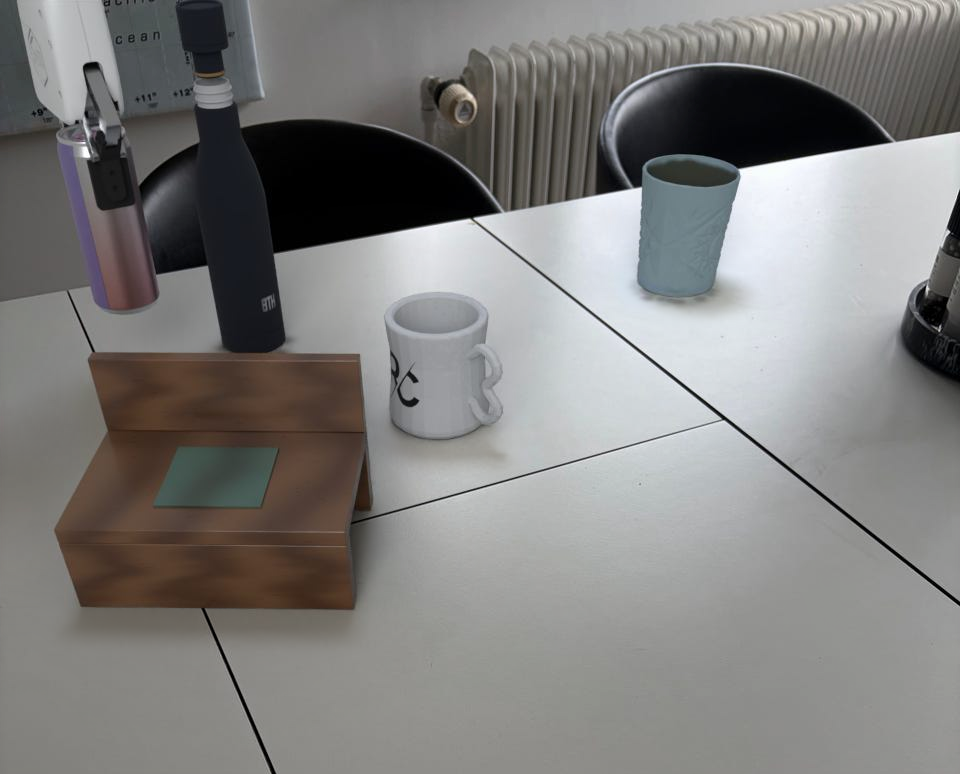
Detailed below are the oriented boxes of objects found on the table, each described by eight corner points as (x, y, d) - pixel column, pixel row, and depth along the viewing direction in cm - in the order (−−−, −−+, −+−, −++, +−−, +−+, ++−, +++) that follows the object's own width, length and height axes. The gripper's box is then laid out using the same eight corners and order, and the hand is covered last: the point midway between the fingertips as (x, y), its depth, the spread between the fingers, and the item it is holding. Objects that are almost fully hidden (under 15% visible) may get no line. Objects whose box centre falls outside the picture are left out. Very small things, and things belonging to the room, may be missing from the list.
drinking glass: (621, 266, 120) (631, 156, 112) (705, 259, 121) (720, 150, 113) (647, 303, 112) (660, 189, 104) (736, 296, 114) (755, 182, 105)
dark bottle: (229, 325, 109) (170, -5, 89) (290, 326, 109) (244, -5, 88) (216, 354, 104) (150, 12, 84) (279, 355, 104) (228, 12, 84)
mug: (369, 417, 95) (360, 313, 88) (441, 382, 100) (438, 281, 93) (464, 469, 89) (462, 362, 82) (536, 429, 93) (540, 325, 87)
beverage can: (82, 311, 96) (38, 138, 86) (117, 286, 100) (80, 118, 90) (139, 320, 95) (102, 145, 85) (172, 294, 99) (140, 125, 89)
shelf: (80, 607, 76) (26, 454, 67) (132, 496, 86) (91, 351, 77) (353, 610, 75) (336, 456, 66) (373, 498, 86) (360, 353, 77)
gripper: (-28, -63, 83) (33, 174, 95) (30, -26, 72) (92, 235, 84) (66, -70, 86) (115, 160, 98) (136, -35, 75) (181, 218, 87)
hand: (104, 193), depth 91 cm, fingers closed on beverage can, 6 cm apart
